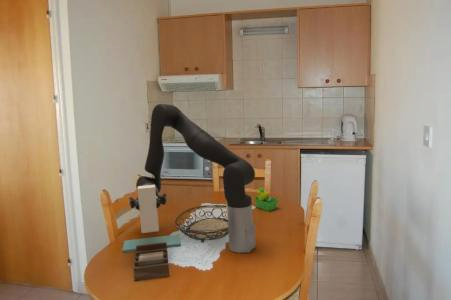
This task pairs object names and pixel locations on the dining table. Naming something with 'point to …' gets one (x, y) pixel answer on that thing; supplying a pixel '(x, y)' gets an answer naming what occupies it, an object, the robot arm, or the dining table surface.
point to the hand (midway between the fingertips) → (147, 206)
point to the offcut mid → (151, 255)
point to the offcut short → (151, 253)
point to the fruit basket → (265, 200)
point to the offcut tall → (150, 261)
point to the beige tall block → (148, 208)
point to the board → (151, 242)
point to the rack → (151, 270)
